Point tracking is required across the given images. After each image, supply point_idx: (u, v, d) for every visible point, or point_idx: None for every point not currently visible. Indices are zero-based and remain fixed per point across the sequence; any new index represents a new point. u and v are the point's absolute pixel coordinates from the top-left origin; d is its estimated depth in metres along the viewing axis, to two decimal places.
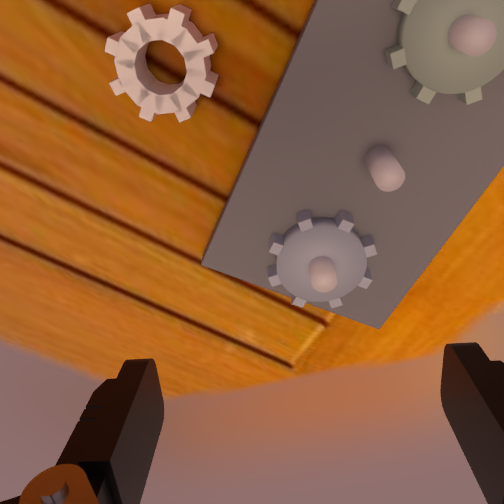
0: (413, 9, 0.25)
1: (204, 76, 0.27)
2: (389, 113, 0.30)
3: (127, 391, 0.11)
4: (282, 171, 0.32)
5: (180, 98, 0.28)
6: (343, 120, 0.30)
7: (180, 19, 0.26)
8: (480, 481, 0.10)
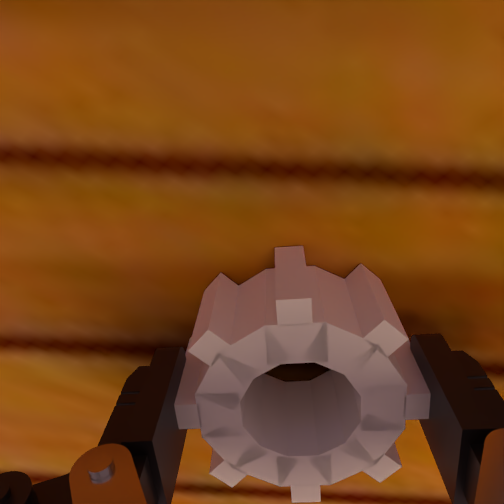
0: None
1: (403, 387, 0.11)
2: None
3: (162, 377, 0.12)
4: None
5: (365, 443, 0.12)
6: None
7: (306, 311, 0.10)
8: (439, 465, 0.11)
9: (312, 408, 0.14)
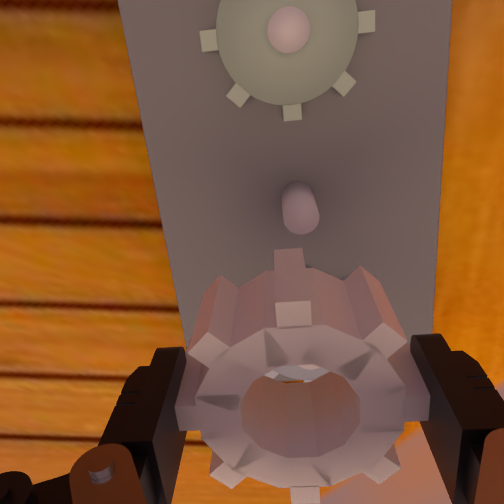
0: (218, 42, 0.22)
1: (402, 389, 0.11)
2: (277, 148, 0.25)
3: (162, 377, 0.12)
4: (211, 260, 0.28)
5: (364, 445, 0.12)
6: (235, 180, 0.26)
7: (305, 314, 0.10)
8: (439, 464, 0.11)
9: (311, 410, 0.14)
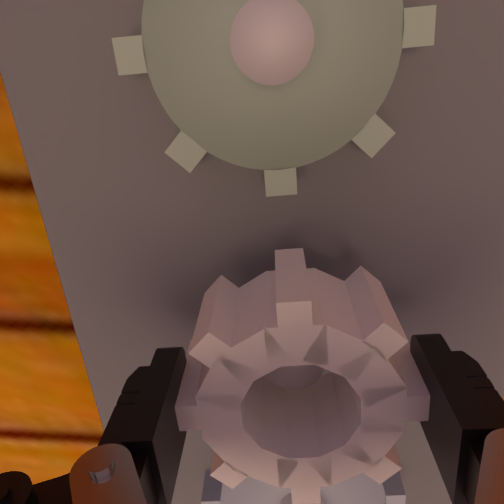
0: (147, 59, 0.12)
1: (403, 390, 0.11)
2: (257, 230, 0.15)
3: (162, 377, 0.12)
4: None
5: (365, 445, 0.12)
6: (190, 276, 0.16)
7: (306, 314, 0.10)
8: (439, 465, 0.11)
9: (312, 410, 0.14)
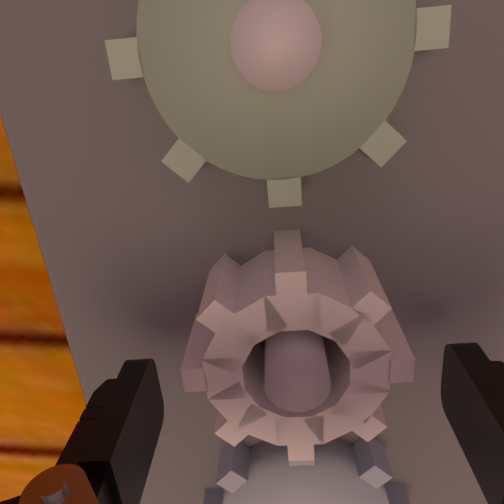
0: (142, 62, 0.11)
1: (388, 353, 0.13)
2: (259, 242, 0.15)
3: (127, 391, 0.11)
4: None
5: (354, 405, 0.13)
6: (189, 290, 0.15)
7: (301, 283, 0.12)
8: (480, 481, 0.10)
9: None
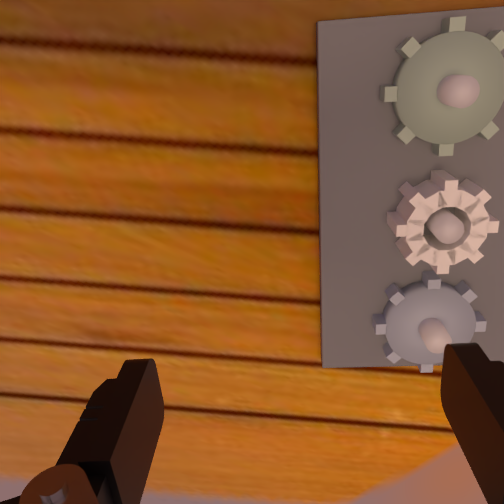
0: (398, 95, 0.29)
1: (488, 218, 0.30)
2: (423, 176, 0.32)
3: (127, 391, 0.11)
4: (355, 262, 0.35)
5: (470, 244, 0.31)
6: (386, 199, 0.33)
7: (455, 185, 0.29)
8: (480, 481, 0.10)
9: None
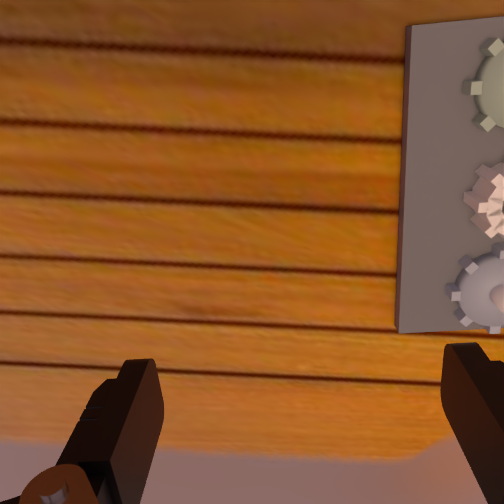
0: (482, 89, 0.33)
1: None
2: (497, 159, 0.36)
3: (127, 391, 0.11)
4: (433, 237, 0.39)
5: None
6: (463, 180, 0.37)
7: None
8: (480, 481, 0.10)
9: None
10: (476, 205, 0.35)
